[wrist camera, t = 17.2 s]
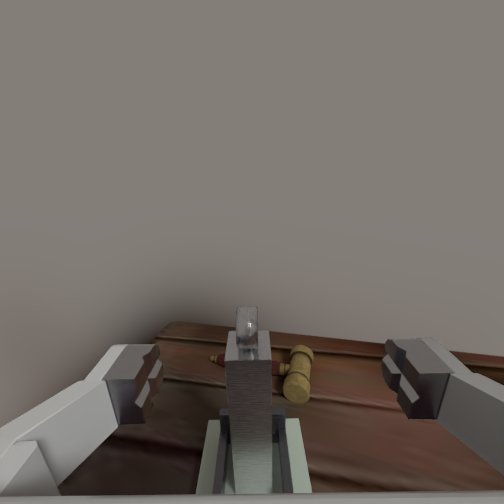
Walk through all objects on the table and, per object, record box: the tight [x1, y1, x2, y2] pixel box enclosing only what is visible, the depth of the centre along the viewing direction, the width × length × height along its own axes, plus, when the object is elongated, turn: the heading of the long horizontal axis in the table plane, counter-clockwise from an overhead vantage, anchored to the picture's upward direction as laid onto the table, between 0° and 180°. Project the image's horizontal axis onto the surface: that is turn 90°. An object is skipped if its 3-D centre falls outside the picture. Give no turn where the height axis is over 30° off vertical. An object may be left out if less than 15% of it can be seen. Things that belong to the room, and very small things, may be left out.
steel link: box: [224, 307, 272, 494], centre depth 27 cm, size 4×4×24 cm
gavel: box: [210, 345, 313, 403], centre depth 49 cm, size 21×5×10 cm
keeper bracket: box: [196, 407, 312, 494], centre depth 31 cm, size 14×14×7 cm
